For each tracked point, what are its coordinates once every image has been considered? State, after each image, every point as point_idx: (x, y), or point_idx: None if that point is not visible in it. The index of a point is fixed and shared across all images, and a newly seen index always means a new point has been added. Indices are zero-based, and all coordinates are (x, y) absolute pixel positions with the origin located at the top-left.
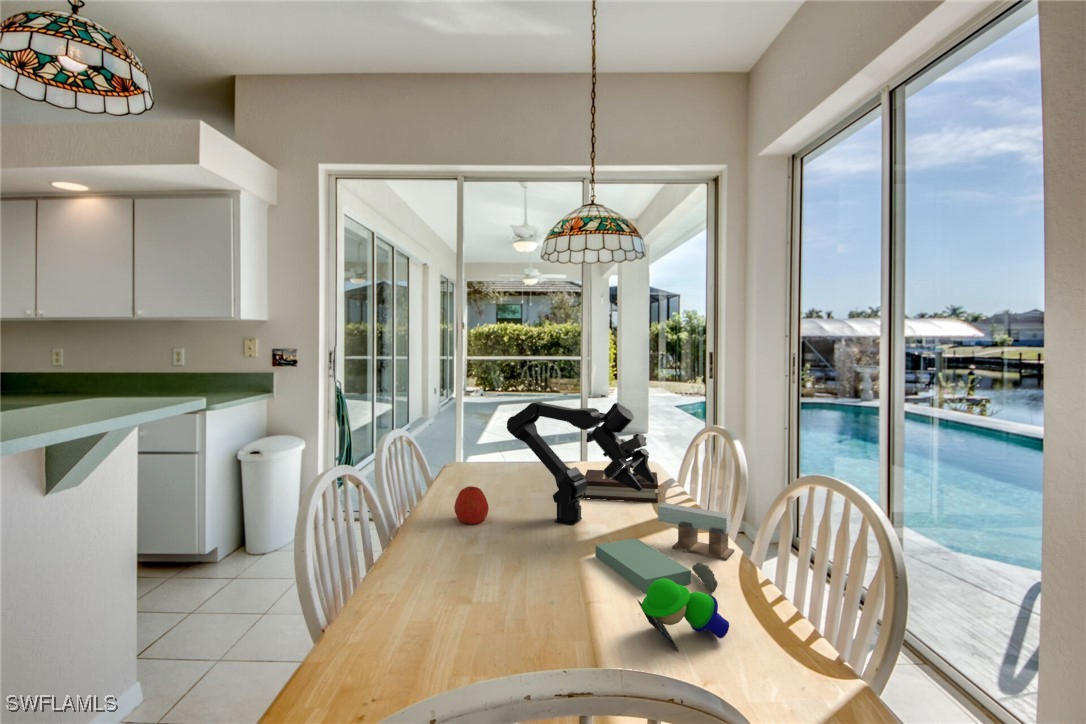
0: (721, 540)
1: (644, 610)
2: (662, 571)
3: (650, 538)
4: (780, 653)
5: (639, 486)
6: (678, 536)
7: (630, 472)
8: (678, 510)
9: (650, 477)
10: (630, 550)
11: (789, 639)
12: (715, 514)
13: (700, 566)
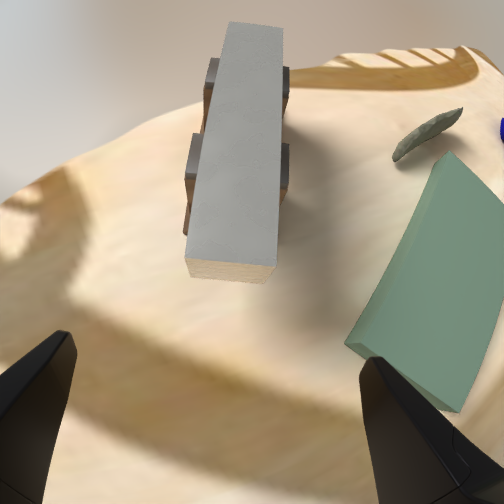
0: None
1: None
2: (486, 201)
3: (216, 338)
4: (480, 83)
5: (397, 371)
6: (279, 206)
7: (471, 484)
8: (280, 160)
9: (51, 378)
10: (451, 309)
11: (456, 69)
12: (260, 47)
13: (424, 133)
